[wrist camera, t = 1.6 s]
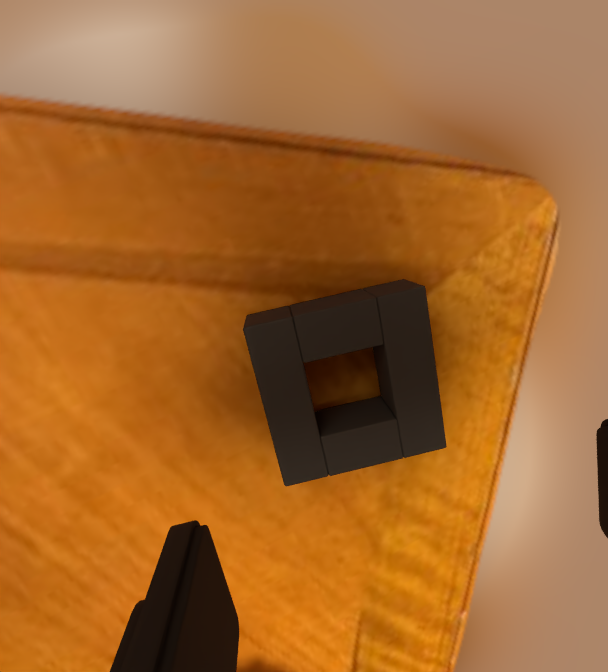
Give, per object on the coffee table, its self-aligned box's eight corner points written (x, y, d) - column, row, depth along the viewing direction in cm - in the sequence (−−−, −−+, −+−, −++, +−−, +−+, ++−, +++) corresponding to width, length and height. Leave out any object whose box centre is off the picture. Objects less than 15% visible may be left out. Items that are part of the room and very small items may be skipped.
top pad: (245, 314, 17) (242, 327, 14) (404, 278, 17) (425, 285, 15) (282, 456, 19) (284, 487, 16) (425, 421, 19) (447, 448, 17)
